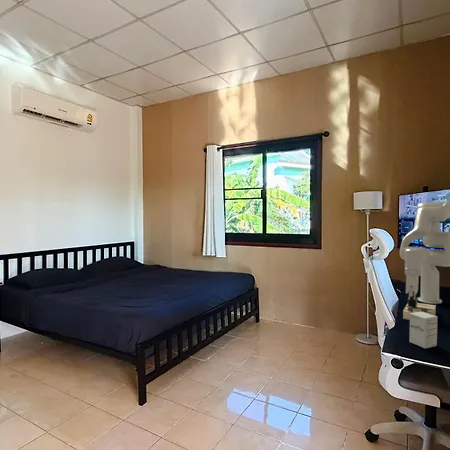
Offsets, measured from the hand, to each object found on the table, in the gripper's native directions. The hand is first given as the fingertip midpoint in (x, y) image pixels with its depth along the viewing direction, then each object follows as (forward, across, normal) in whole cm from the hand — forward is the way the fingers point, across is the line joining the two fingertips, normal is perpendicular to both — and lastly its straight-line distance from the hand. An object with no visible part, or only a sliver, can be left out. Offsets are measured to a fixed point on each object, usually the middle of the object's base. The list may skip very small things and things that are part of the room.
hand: (412, 305), depth 176 cm
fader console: (+5, 0, +3) cm, 6 cm away
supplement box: (+5, +41, +8) cm, 42 cm away
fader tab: (0, 0, 0) cm, 0 cm away
